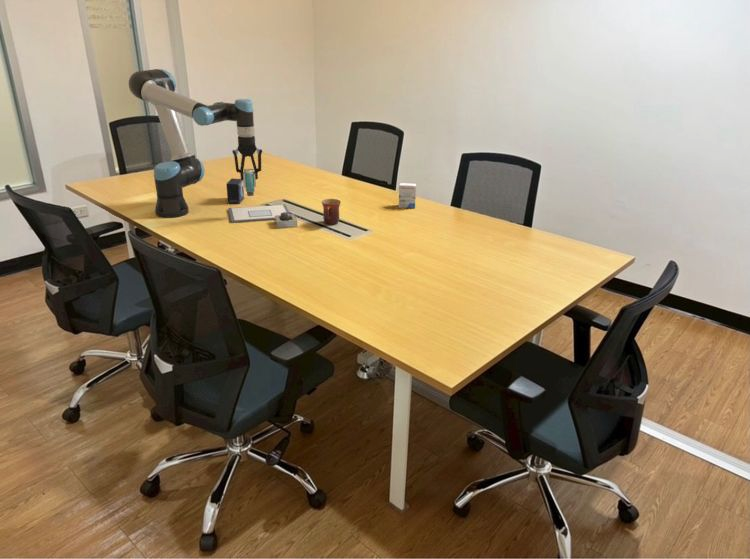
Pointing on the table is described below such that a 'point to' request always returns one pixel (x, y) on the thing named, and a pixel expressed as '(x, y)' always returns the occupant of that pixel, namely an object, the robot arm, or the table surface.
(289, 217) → the button
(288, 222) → the button housing
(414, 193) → the ink box
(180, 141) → the robot arm
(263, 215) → the sheet
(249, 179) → the marker
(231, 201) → the small box
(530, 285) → the table surface
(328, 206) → the mug
